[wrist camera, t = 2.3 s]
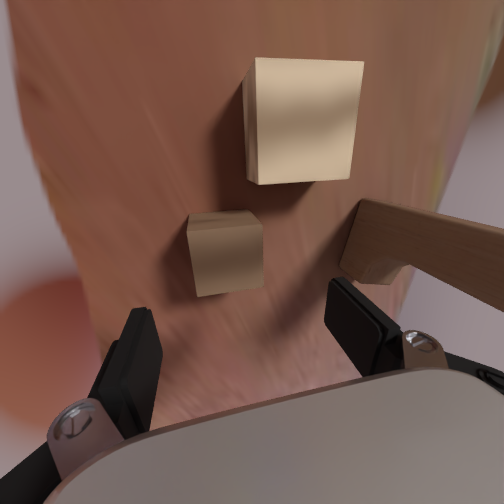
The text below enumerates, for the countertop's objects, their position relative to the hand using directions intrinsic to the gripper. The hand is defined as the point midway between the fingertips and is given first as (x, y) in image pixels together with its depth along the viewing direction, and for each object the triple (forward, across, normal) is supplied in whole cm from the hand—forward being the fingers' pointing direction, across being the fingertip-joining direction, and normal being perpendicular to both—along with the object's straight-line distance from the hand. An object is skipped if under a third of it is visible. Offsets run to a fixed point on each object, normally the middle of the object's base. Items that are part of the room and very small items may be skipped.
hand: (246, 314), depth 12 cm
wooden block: (+14, -17, +3) cm, 22 cm away
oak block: (+14, -7, -9) cm, 18 cm away
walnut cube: (+14, 0, +1) cm, 14 cm away
